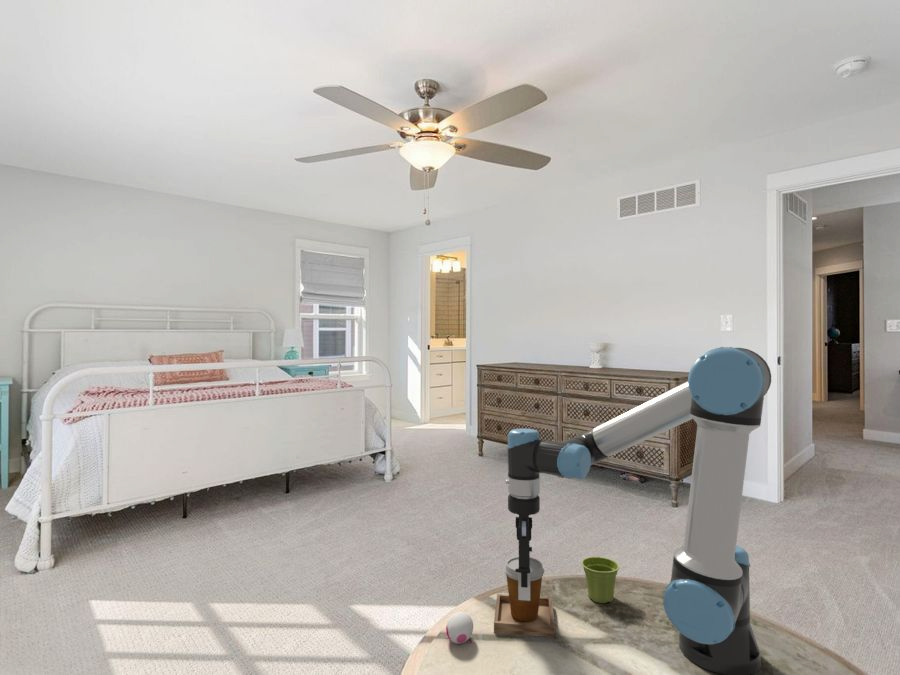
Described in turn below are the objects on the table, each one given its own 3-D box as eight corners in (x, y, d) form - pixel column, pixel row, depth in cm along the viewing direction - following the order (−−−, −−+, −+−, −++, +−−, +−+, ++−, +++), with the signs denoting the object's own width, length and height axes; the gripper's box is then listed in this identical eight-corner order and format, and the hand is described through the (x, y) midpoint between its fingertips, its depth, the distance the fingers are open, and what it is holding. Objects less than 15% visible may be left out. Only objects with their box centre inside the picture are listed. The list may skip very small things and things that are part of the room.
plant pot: (579, 602, 126) (578, 568, 127) (584, 586, 135) (584, 554, 135) (618, 610, 123) (617, 574, 123) (620, 593, 132) (620, 559, 132)
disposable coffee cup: (544, 627, 113) (543, 574, 114) (502, 623, 115) (502, 570, 116) (545, 606, 123) (544, 557, 123) (506, 602, 125) (505, 554, 125)
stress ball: (454, 645, 114) (438, 618, 115) (483, 627, 113) (466, 601, 114) (447, 664, 107) (430, 636, 108) (478, 645, 106) (461, 617, 107)
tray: (551, 606, 125) (551, 597, 125) (555, 637, 111) (555, 627, 111) (497, 602, 127) (497, 593, 127) (493, 632, 113) (493, 622, 113)
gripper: (509, 481, 131) (509, 567, 131) (506, 508, 109) (506, 611, 109) (538, 482, 130) (538, 569, 130) (541, 509, 108) (541, 614, 108)
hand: (524, 588), depth 119 cm, fingers closed on disposable coffee cup, 9 cm apart
